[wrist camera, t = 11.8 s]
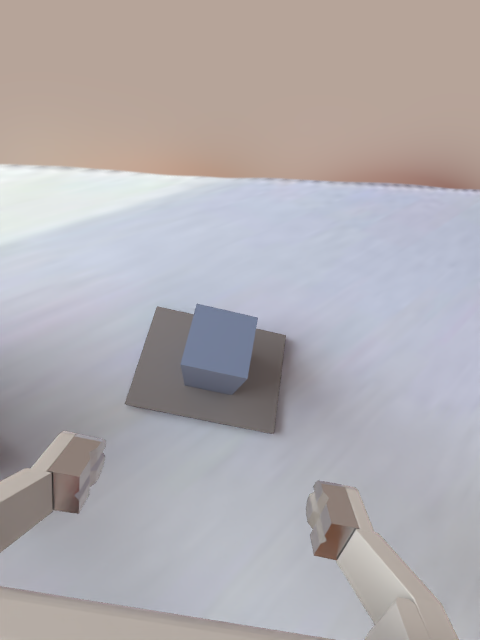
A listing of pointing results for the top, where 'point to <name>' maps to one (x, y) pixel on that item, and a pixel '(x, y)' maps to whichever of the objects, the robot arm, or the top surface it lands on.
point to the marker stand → (175, 398)
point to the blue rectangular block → (218, 350)
